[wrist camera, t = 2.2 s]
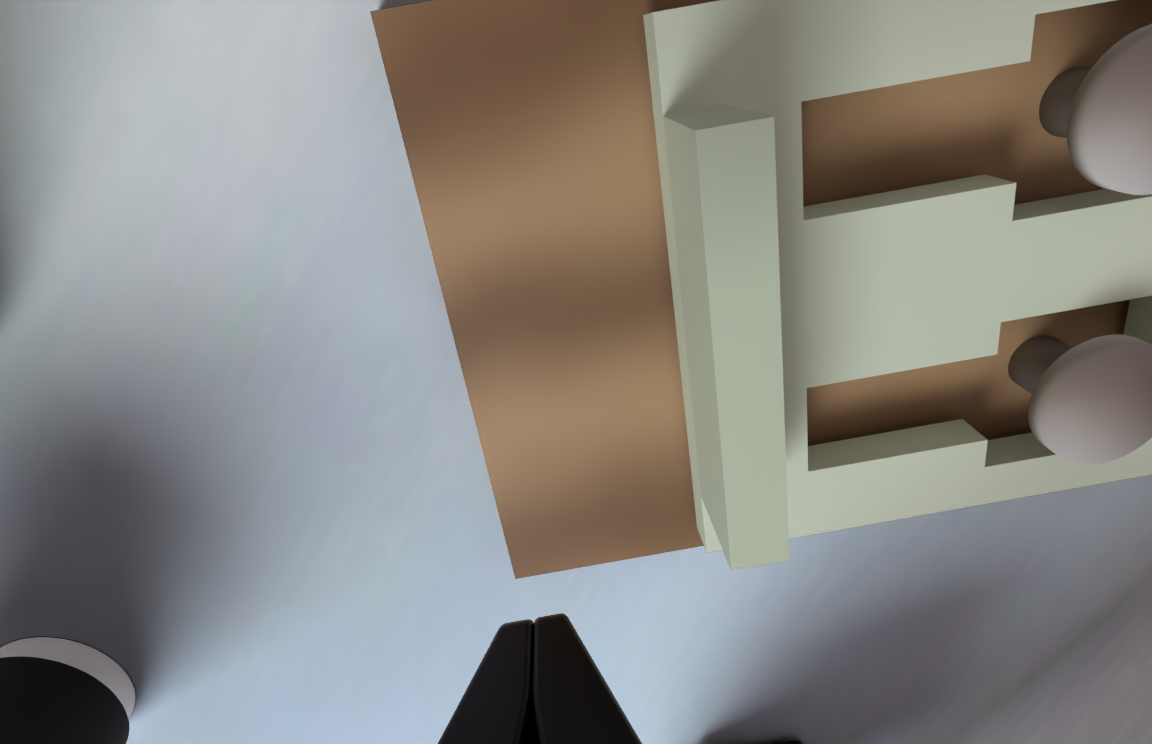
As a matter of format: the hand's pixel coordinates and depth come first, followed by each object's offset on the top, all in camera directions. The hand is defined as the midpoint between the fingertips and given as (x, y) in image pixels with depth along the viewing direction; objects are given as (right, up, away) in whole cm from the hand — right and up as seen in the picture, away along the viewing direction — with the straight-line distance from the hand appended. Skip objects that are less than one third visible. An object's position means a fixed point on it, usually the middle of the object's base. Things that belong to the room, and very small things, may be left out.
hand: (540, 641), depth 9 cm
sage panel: (+11, +6, +9) cm, 15 cm away
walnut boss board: (+10, +7, +10) cm, 16 cm away
